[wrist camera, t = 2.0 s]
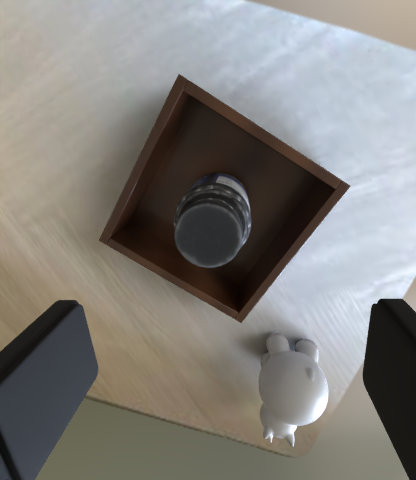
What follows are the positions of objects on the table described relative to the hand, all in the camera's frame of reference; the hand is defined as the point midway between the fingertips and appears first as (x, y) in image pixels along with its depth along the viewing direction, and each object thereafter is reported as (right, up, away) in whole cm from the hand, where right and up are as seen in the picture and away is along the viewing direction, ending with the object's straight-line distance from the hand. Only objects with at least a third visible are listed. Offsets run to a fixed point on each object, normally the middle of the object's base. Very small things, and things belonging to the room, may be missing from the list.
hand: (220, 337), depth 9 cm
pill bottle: (+1, +7, +21) cm, 22 cm away
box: (+1, +7, +21) cm, 22 cm away
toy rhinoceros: (+9, -13, +28) cm, 32 cm away
